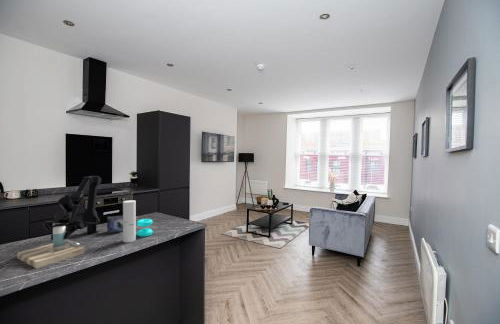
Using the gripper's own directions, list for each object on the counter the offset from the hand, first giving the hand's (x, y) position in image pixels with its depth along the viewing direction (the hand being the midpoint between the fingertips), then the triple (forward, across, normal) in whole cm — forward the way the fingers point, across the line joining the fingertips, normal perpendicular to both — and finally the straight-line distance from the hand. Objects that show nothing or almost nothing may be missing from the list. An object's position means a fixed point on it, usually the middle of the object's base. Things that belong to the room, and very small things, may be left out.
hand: (57, 239), depth 130 cm
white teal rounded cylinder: (+4, 0, +6) cm, 7 cm away
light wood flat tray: (+7, -2, +5) cm, 9 cm away
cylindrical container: (-7, +31, +19) cm, 37 cm away
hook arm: (-1, +4, +8) cm, 9 cm away
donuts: (-14, +37, +26) cm, 47 cm away
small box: (-20, +16, +32) cm, 41 cm away
